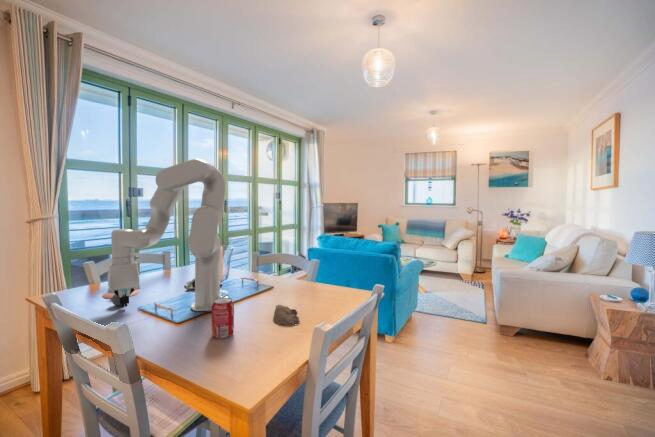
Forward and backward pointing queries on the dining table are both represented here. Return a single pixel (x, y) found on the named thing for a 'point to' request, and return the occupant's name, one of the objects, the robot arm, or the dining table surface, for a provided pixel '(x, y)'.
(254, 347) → the dining table surface
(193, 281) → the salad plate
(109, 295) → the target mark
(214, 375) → the dining table surface
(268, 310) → the dining table surface
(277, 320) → the oyster shell
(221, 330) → the soda can
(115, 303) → the grey rounded lump
